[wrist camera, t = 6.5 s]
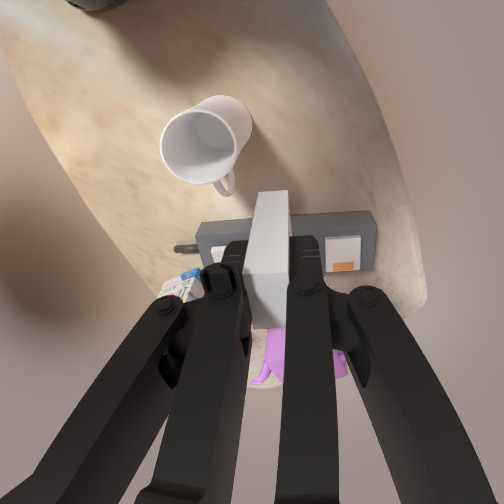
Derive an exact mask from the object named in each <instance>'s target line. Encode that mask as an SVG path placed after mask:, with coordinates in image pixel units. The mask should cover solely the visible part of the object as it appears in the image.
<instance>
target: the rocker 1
mask: <svg viewBox="0 0 504 504" xmlns="http://www.w3.org/2000/svg"><path fill="white" fill-rule="evenodd" d="M225 248H226V246H218V247H212V249H211V254H212V257H213V259H214V262H215V263H217V262H221V260H222V257H223V253H224V250H225Z"/></svg>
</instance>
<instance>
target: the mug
mask: <svg viewBox="0 0 504 504" xmlns="http://www.w3.org/2000/svg"><path fill="white" fill-rule="evenodd" d="M251 132H252V119H251V115H250V113H249V111H248V110H247V108H246V107H245V106H244V105H243V104H242V103H241V102H240V101H239V100H237V99H235V98H233V97H230V96H225V95H216V96H211V97H208V98H206V99H204V100H203V101H201V102H200V103H199V104H198V105H195V106H193V107H191V108H189V109H187V110H185V111H183V112H181V113H179V114H177V115H176V116H175V117H173V118H172V119H171V120H170V121H169V122H168V123H167V125H166V126H165V128H164V130H163V132H162V135H161V138H160V153H161V157H162V160H163V162H164V164H165V166H166V167H167V169H168V170H169V171H170V172H171V173H172V174H173V175H174V176H175V177H177V178H178V179H180V180H182V181H184V182H186V183H189V184H194V185H207V184H211V183H213V184H214V186H215V188H216V189H217V191H218V192H219V193H220V194H221V195H222V196H224V197H228V196H231V195H232V194H233V192H234V189H235V178H234V171H233V166H234V164H235V162H236V160H237V158H238V156H239V154H240V152H241V150H242V148H243V146H244V145H245V144H246V143H247V142H248V140H249V138H250V136H251ZM227 174H228V181H229V188H228V191H227V190H226V189H225V188H224V186H223V185H222V183H221V180H220V179H222V178H223V177H224V176H226V175H227Z"/></svg>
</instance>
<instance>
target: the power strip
mask: <svg viewBox="0 0 504 504" xmlns="http://www.w3.org/2000/svg"><path fill="white" fill-rule="evenodd" d="M290 218H291V230H292V236H304V235H313V236H314V237H315V238H316V239H317V241H318V243H319V250H320V257H321V265H322V272H323V273H327V272H326V265H325V237H336V236H353V235H360V237H361V250H360V270H372V268H373V259H374V250H375V239H376V227H377V224H376V221H375V219H374V217H373V215H372V213H371V211H357V212H338V213H320V214H304V215H290ZM252 222H253V218H248V219H236V220H224V221H213V222H202V223H201V225H200V227H199V229H198V231H197V233H196V235H195V238H196V242H197V244H192V245H179V246H175V247H174V252H176V253H183V252H200V256H201V259H202V263H203V266H204V268H205V267H206V266H208V265H211V264H213V263H215V262H214V259H213V257H212V254H211V249H212V247H218V246H227V245H228V244H229V243H230V242H231V241H239V240H249V237H250V232H251V227H252ZM353 271H358V270H353ZM338 272H343V271H338Z"/></svg>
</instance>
